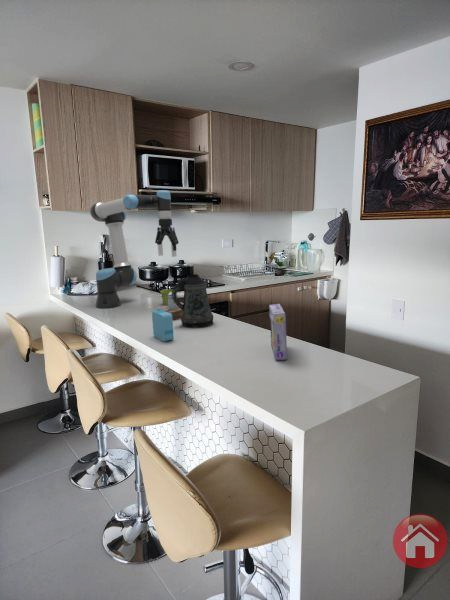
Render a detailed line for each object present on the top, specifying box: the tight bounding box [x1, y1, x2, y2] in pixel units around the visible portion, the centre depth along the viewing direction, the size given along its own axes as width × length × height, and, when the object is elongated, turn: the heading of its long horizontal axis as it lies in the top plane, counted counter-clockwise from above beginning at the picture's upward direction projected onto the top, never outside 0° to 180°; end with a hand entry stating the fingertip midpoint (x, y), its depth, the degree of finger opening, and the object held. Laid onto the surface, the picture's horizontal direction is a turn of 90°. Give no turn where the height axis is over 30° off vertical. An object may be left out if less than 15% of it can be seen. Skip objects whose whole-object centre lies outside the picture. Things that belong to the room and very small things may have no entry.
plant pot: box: [160, 289, 172, 306], centre depth 248 cm, size 9×9×9 cm
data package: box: [151, 309, 175, 343], centre depth 173 cm, size 12×4×12 cm, turn 33°
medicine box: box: [167, 292, 178, 310], centre depth 212 cm, size 8×4×9 cm, turn 1°
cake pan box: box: [268, 303, 288, 361], centre depth 150 cm, size 19×5×18 cm, turn 178°
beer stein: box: [171, 274, 214, 329], centre depth 194 cm, size 16×19×25 cm
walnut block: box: [157, 306, 183, 322], centre depth 214 cm, size 12×12×5 cm
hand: (167, 256), depth 227 cm, fingers open, 13 cm apart
